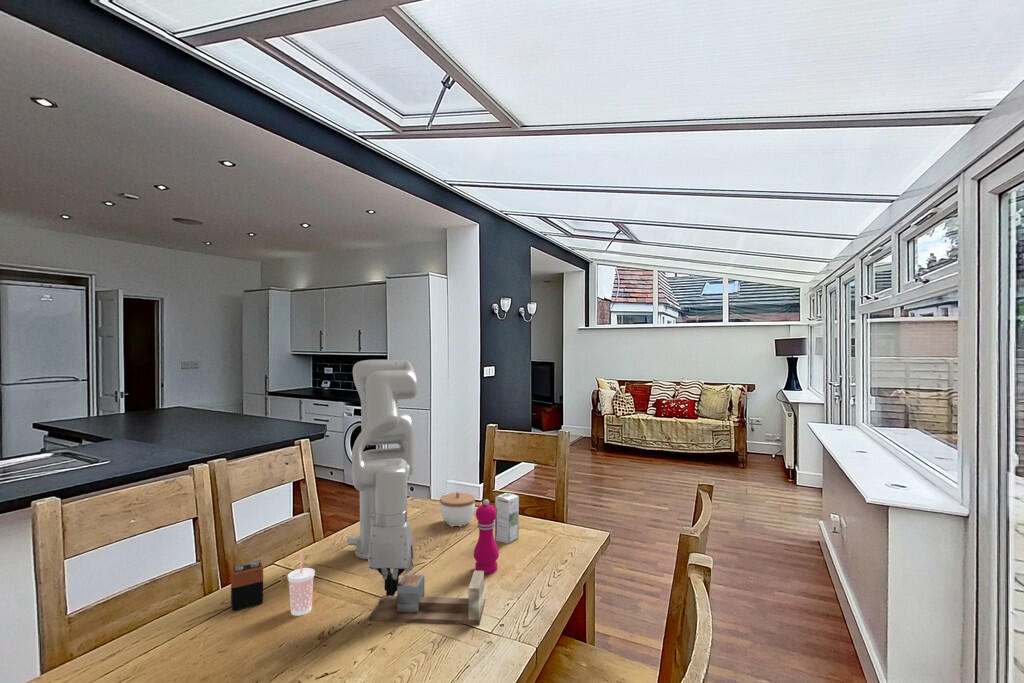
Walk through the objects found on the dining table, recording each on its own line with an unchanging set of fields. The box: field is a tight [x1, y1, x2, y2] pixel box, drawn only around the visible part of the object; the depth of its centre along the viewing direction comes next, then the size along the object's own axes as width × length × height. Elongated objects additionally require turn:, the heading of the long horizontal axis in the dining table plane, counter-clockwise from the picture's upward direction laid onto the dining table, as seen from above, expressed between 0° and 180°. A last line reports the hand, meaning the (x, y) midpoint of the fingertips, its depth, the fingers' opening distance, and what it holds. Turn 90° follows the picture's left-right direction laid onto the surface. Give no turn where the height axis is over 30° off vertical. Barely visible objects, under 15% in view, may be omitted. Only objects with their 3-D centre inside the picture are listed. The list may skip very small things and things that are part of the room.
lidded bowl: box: [439, 491, 476, 526], centre depth 179 cm, size 13×13×11 cm
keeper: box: [396, 573, 425, 613], centre depth 121 cm, size 5×6×6 cm
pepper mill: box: [473, 499, 500, 575], centre depth 142 cm, size 7×7×20 cm
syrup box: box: [494, 492, 520, 544], centre depth 164 cm, size 6×6×14 cm
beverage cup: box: [287, 551, 316, 617], centre depth 121 cm, size 6×6×14 cm
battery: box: [230, 560, 264, 611], centre depth 124 cm, size 4×7×10 cm, turn 123°
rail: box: [368, 570, 486, 625], centre depth 120 cm, size 26×10×8 cm, turn 86°
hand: (391, 593), depth 121 cm, fingers closed
